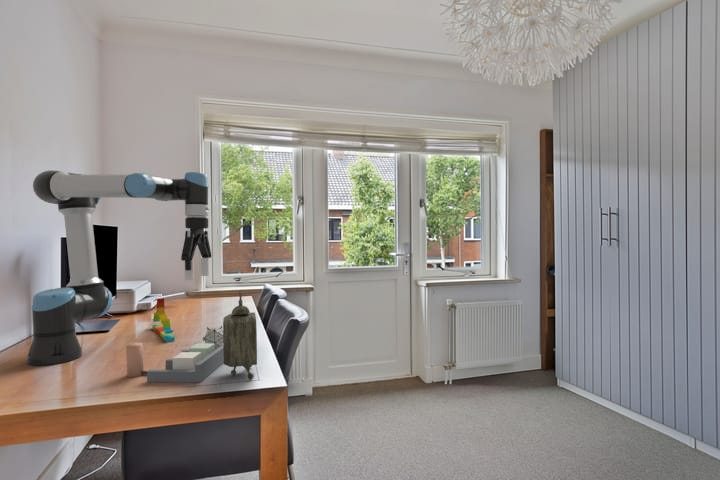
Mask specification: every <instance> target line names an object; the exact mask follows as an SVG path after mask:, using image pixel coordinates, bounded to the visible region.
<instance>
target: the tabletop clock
mask: <svg viewBox="0 0 720 480" xmlns="http://www.w3.org/2000/svg"><path fill="white" fill-rule="evenodd" d="M238 293H239V300H238V305H237V306H235V307H234V308H233V309H232V311H231V313H229V314H227V315H226V316H224V317H223V321H222V331H223V351H224V363H223V365H225V366H226V367H229V368H232V370H231V371H230V375H231V376H236V374H237V370H236V369H237V367H243V368H244V369H245V371H246V372H247V378H248V379H249V380H252V379H254V373H251V371H250V369H251V368H252V367H253V366H255V365H258V338H257V337H258V336H257V335H258V334H257V333H258V332H257V331H258V330H257V316H256V312H251V311H250V309H249V308H248V306H246V305H243V300H242V298H243V297H242V295H243V294H242V290H239V292H238Z"/></svg>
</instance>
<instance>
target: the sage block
mask: <svg viewBox="0 0 720 480" xmlns="http://www.w3.org/2000/svg"><path fill="white" fill-rule="evenodd" d="M188 350H189V352H201V354H202V359H204V358H205V357H206V356H208V355H209V354H211V353H212V352H213V351H215V350H216V348H215V343H206V342H205V343H202V342H200V343H196V344H194V345H192V346H190V347H189V348H188Z"/></svg>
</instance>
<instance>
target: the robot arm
mask: <svg viewBox="0 0 720 480" xmlns="http://www.w3.org/2000/svg"><path fill="white" fill-rule="evenodd" d="M208 180H209V179H208V175H207V174H206V173H204V172H200V171H199V172H197V171H188V172H186V173H185V174H184V177H183V178H166V177H161V176H155V175H151V174H147V173H145V172H144V173H141V172H134V173H130V174H82V173H73V172H65V171H60V170H44V171H42V172H40V173H39V174H38V175H36V177H35V178H34V179H33V182H32V183H33V184H32V189H33V192H34V194H35V195H36V196H37V197H38V198H39V200H42V201H43V202H45V203H47V204H48V203H49V204H53V205H57V208H58V212H59V213H60V214H62V215H63V219H64V226H65V237H66V246H67V256H68V257H67V258H68V268H69V277H70V281H69V282H68V283H67V284H66V286H65V287H56V288H52V289H46V290H42V291H39V292H37V293H36V294H35V295H34V296H32V305H31V310H32V332H33V333H32V334H33V335H32V337H33V338H32V342H31V344H30V348H29V350H28V353H27V355H26V362H27V364H28V365H31V366H49V365H50V366H51V365H57V364H63V363H66V362H71V361H74V360H77V359H80V357H81V358H82V355H83V348H82V347H81V344H80V342H79V339H78V337H77V333H76V324H77V323H81V322H84V321H88V320H95V319H97V318H99V317H102V316H104V315H106V314H107V313H108V311H109V310H110V309H111V307H112V304H113V294H112V292H111V291H110V290H109V288H107V287H106V286H105V284H104V280H102V279H101V278H100V277H99V272H98V263H97V252H96V244H95V234H94V224H93V223H94V222H93V214H94V212H95V211H96V210H97V207H96V206H97V205H98V204H99V202H100V200H101V199H102V198H117V199H118V198H125V199H127V198H130V199H131V198H132V199H133V198H134V199H138V198H139V199H140V198H141V199H154V200H156V201H162V202H169V201H170V202H171V201H172V202H173V201H184V216H185V219H184V220H185V222H184V223H185V224H184V226H185V229H190V230H185V235H184V243H183V247H182V250H181V251H182V253H181V257H180V259H181V261H182V262H184V280H185V281H194V280H195V279H194V278H195V277H194V276H195V274H194V273H195V271H194V269H195V268H194V266H195V265H194V264H195V261H194V260H193V258H194V255H195V253H196V250H197V247H198V250H199V253H200V256H201V257H200V277H209V276H210V266H209V265H210V264H209V263H210V262H209V261H210V260H209V259H211V258H212V252H211V246H210V241H209V234H208V231H207V230H205V229H208V228H209V218H208V216H209V210H210V207H209V182H208Z"/></svg>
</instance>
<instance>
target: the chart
mask: <svg viewBox="0 0 720 480" xmlns="http://www.w3.org/2000/svg"><path fill="white" fill-rule="evenodd" d="M165 308H166V307H165V298H157V299H156V309H155V310H153V318H152V322H153V324H152V325H151V327H152V330H154V332H155V333H157V335H158V336H159V337H160V338H162V340H163V341H165V342H166V343H171V342H175V341H176V340H175V339H176V337H175V336H174V335H173V334H172V333H174V330H175V329H172V328H171V323H170V319H169V318H168V314H167V313H166V309H165ZM155 322H160V323H161V324H160V323H156V324H154V323H155Z"/></svg>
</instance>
